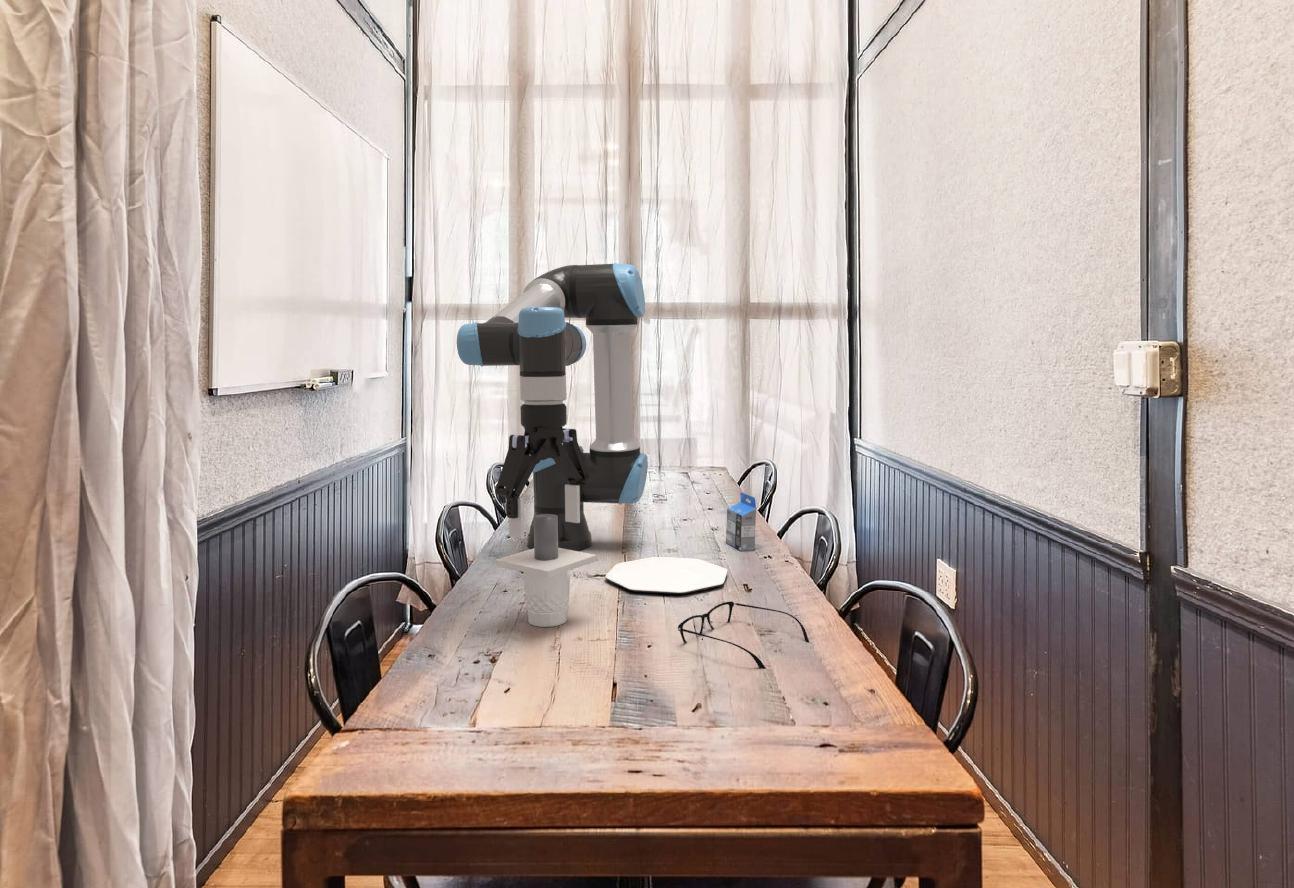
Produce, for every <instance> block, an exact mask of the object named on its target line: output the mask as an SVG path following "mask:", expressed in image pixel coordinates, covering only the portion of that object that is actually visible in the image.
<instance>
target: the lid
mask: <svg viewBox="0 0 1294 888" xmlns="http://www.w3.org/2000/svg"><path fill="white" fill-rule="evenodd" d="M533 517H534V548H533V549H530V548H529V549H527V550H524V551H520V552H517V553H513V554H510V555H506V556H504V557H500V558H497V559H495V560H494V566H495V567H500V568H504V569H508V570H513V571H517V572H522V573H524V572H526V573H530V574H535V575H539V576H544V577H548V578H549V577H552V576H554V575H557V574H560V573H563V572H566V571H569V570H570V571H572V570H574V569H577V568H580V567H583V566H586V565H589V564H591V563H594V562H597V561H598V560H597V559H598V555H597V554H594V553H589V552H585V551H583V552H582V551H579V550H577V551H573V550H568V549H563V548H558V516H557V515H554V514H540V515H536V516H534V515H533Z"/></svg>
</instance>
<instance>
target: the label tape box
mask: <svg viewBox="0 0 1294 888" xmlns="http://www.w3.org/2000/svg"><path fill="white" fill-rule="evenodd" d="M739 494H740V501H739V502H737V503H736V504H734V505H731V506H729V507H728V508H727V509H726V529H725V530H726V531H725V543H727V544H728V545H730V546H732V547H733V548H735V549H737V550H738V551H741V552H748V551H749V552H750V551H755V550H756V546H755V545H756V520H757V519H756V518H757V517H756V516H757V504H756V497H754V496H752V495H750V494H747V493H744V492H742V491H740V492H739ZM747 500H749V501H750V502H749V501H747Z"/></svg>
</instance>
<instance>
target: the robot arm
mask: <svg viewBox="0 0 1294 888" xmlns="http://www.w3.org/2000/svg"><path fill="white" fill-rule="evenodd" d="M642 281H643V280H642V278H641V275H640V272H639V270H638V269H637V268H636V266H634V264H629V263H627V264H625V263H616V262H615V263H603V264H601V263H597V264H596V263H595V264H570V265H569V264H568V265H564V266H560V267H558V268H557V267H556V268H554V269H552V270H549V271H547V272H545V273H543V274H541V275H539V276H538V277H535V278H534V279H533V280H531V281H530V282H528V283H527V285H526V286H525V287H524V289H523V292H522V294H520V296H517V298H515V299H514V300H513V301H512V302H510V303H509V304H507V305H506V306H505V307H503V308H502V309H501V310H499V311H498V312H497V313H496V314H495V315H493V316H492V317H491V318H489V319H488V320H486V321H485V322H482V323H481V322H473V323H464V324H463V325H461V326H460V328H459V329H458V332H457V333H456V334H457V335H456V349H457V354H458V358H459V359H460V360H461V362H462V363H463V364H465V365H467V366H479V367H484V366H485V367H492V366H494V367H495V366H496V367H497V366H499V367H500V366H501V367H502V366H503V367H504V366H505V367H506V366H519V383H520V384H519V386H520V387H519V393H520V394H519V395H520V396H519V397H520V400H521V401H522V402H523V403H522V404H521V406H520V425H521V426H522V427H523V429H524V433H523V435H521V434H510V435H509V437H508V450H507V452H506V455H505V458H504V462H503V464H502V468H501V472H500V473H499V477H498V481H497V484H496V487H495V490H494V491H495V495H497V496H498V495H499V496H500V497H502V498H505V507H506V509H505V510H506V514H505V515H506V518H508V535H509V538H516V539H520V540H523V539H525V538H527V543H526V544H527V546H526V547H527V548H528V549H529V550H530V549H533V548H534V516H536V515H540V514H554V515H557V516H558V548H563V549H568V550H573V551H581V550H584V549H588V548H589V547H591V546H592V545H593V544H592V533H591V531H590V528H589V525H588V521H587V518H586V514H585V512H584V511H585V509H584V508H585V507H584V505H585V504H584V503H592V504H595V503H598V504H618V505H622V504H623V505H624V504H635V503H638V502H639V501H640V500H641V499H642V496H643V494H644V492H645V487H646V481H647V476H648V468H649V467H648V466H649V461H648V460H649V459H648V455H647V454H646V453H644V452H641V446H640V443H639V442H637V440H636V439H635V438H634V424H633V423H634V412H633V410H634V409H633V407H634V405H633V364H632V363H633V362H632V360H633V359H632V333H633V331H634V330H636V328H638V326H639V325H638V324H639V322H638V320H639V319H640V318H642V317H644V316H645V314H646V313H645V312H646V300H645V299H646V297H645V290H644V286H643V282H642ZM570 318H571V319H585V327H586V328H587V330H589V331H590V332H591V334H592V351H593V353H592V354H593V383H594V384H593V385H594V418H595V422H594V423H595V439H594V441H593V442H592V443H591V444H590V445H589V452H584V451H585V450H584V449H583V446H581V445H580V444H579V442H578V435H577V434H578V433H577V430H576V429H575V428H566V427H565V426H566V425H567V421H568V419H567V418H568V417H567V412H568V411H567V405H566V403H564V401H566V400H567V398H568V397H567V396H568V395H567V375H566V374H567V373H566V372H567V369H566V367H567V366H571V365H574V364H576V363H578V362H579V361H580V360H581V359H582V358H583V357H584V355H585V353H586V351H587V350H586V349H587V339H586V336H585V334H584V332H583V331H582V330H581V329H580V328H579V327H578V326H576V325H574V324H573V323H571V322H568V321H566V319H570ZM564 427H565V428H564ZM532 474H533V475H532ZM531 476H533V477H532V479H533V484H532V486H533V510H534V511H533V513H534V514H533V517H532V520H531V524H530V528H529V533H528V534H527V537H526V536H525V535H526V533H525V532H526V531H525V528H526V527H525V497H523V496H521V494H522V492H523V490H524V488H525V487H526V484H527V483H528V481H529V479H530V477H531Z"/></svg>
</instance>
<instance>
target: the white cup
mask: <svg viewBox="0 0 1294 888" xmlns="http://www.w3.org/2000/svg"><path fill="white" fill-rule="evenodd" d="M570 580H571V570H569V571H566V572H563V573H560V574H557V575H554V576H552V577H549V578H548V577H544V576H539V575H535V574H530V573H526V572H523V581H524V582H523V583H524V585H523V586H524V592H525V593H524V594H525V595H524V596H525V597H524V598H525V606H526V610H527V611H526V612H527V621H528V624H530V625H532V626H534V627H540V628H552V627H557V626H561V625H563V624H565V623H566V622H567V621H568V619H569V602H570V590H571V589H570V584H571V581H570Z"/></svg>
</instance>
